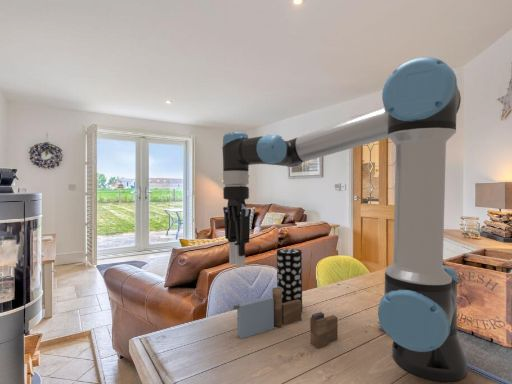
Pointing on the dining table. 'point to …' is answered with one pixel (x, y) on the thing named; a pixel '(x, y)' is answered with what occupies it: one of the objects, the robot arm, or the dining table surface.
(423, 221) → the robot arm
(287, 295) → the white-spotted black cylinder
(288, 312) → the pair of brown blocks
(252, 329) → the gate
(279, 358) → the dining table surface
